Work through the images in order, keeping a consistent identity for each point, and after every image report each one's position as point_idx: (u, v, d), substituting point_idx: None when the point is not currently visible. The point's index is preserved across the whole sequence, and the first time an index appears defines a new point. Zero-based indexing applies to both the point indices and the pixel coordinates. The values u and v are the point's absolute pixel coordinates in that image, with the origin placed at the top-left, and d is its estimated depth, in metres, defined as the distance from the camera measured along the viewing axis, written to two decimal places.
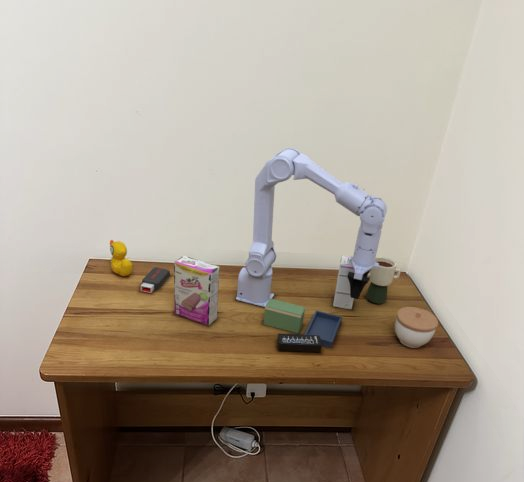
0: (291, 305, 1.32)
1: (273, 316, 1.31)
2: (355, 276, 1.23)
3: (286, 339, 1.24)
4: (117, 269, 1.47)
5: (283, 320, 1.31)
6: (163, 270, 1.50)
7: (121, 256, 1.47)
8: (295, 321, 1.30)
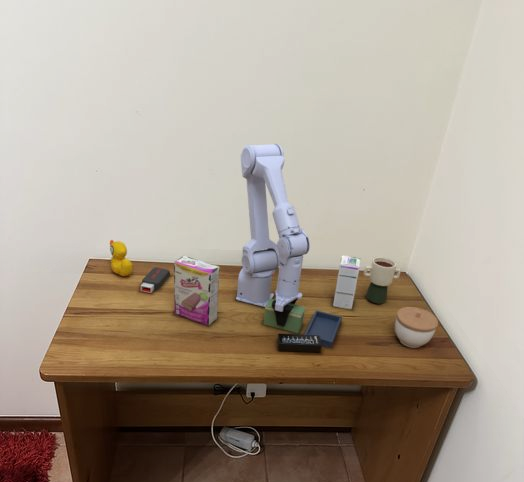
0: (291, 305, 1.32)
1: (273, 316, 1.31)
2: (276, 308, 1.24)
3: (286, 339, 1.24)
4: (117, 269, 1.47)
5: None
6: (163, 270, 1.50)
7: (121, 256, 1.47)
8: (295, 321, 1.30)
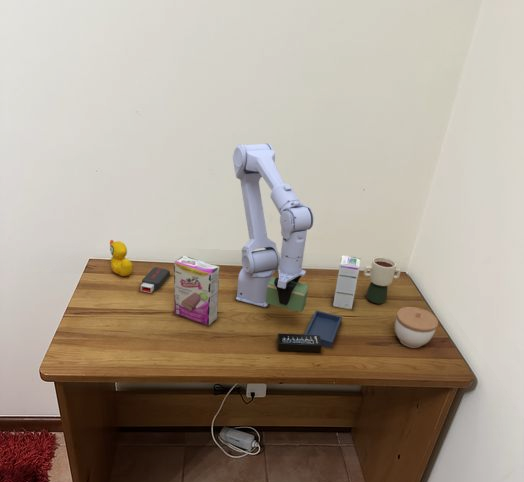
0: None
1: (276, 294, 1.28)
2: (278, 285, 1.20)
3: (286, 339, 1.24)
4: (117, 269, 1.47)
5: None
6: (163, 270, 1.50)
7: (121, 256, 1.47)
8: (298, 299, 1.26)
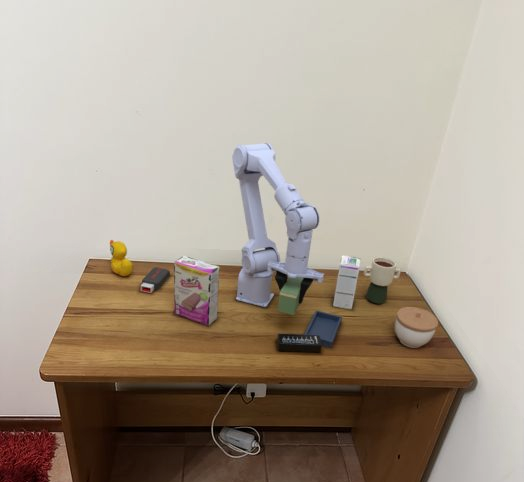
0: (296, 288, 1.26)
1: None
2: None
3: (286, 339, 1.24)
4: (117, 269, 1.47)
5: None
6: (163, 270, 1.50)
7: (121, 256, 1.47)
8: None
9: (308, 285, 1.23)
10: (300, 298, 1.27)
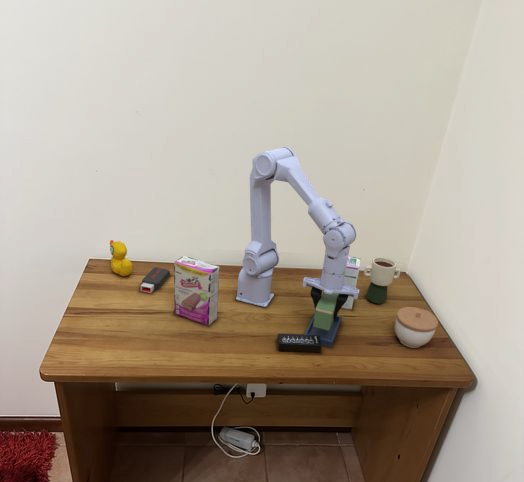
0: (332, 303, 1.27)
1: None
2: None
3: (286, 339, 1.24)
4: (117, 269, 1.47)
5: None
6: (163, 270, 1.50)
7: (121, 256, 1.47)
8: None
9: (344, 301, 1.24)
10: (335, 313, 1.28)
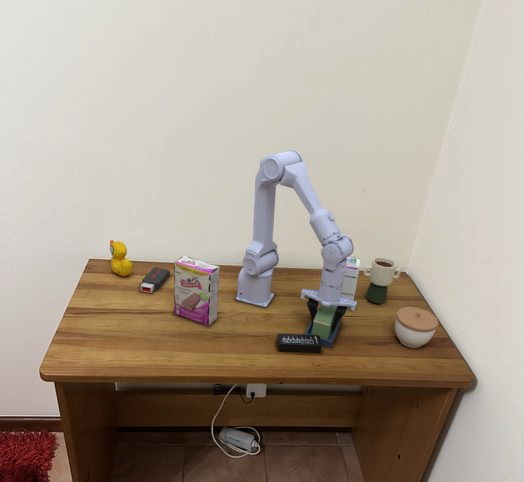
0: (329, 315, 1.29)
1: None
2: None
3: (286, 339, 1.24)
4: (117, 269, 1.47)
5: None
6: (163, 270, 1.50)
7: (121, 256, 1.47)
8: None
9: (343, 313, 1.26)
10: (334, 325, 1.30)
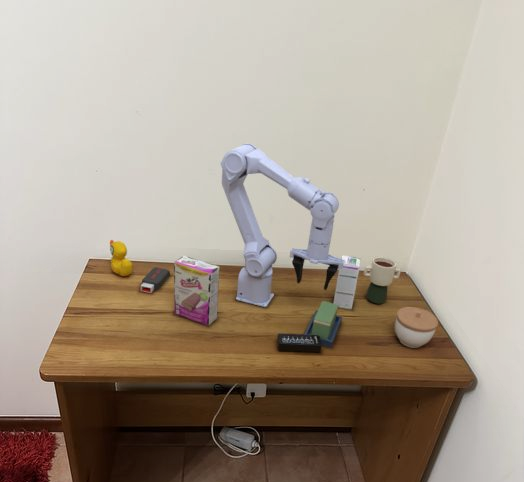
0: (329, 315, 1.29)
1: None
2: None
3: (286, 339, 1.24)
4: (117, 269, 1.47)
5: None
6: (163, 270, 1.50)
7: (121, 256, 1.47)
8: None
9: (334, 272, 1.29)
10: (325, 284, 1.33)
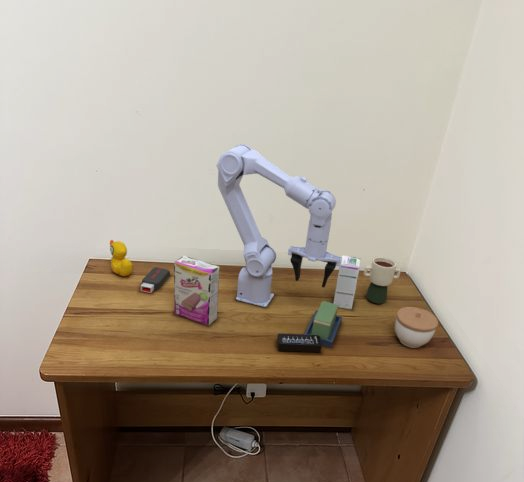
0: (329, 315, 1.29)
1: None
2: None
3: (286, 339, 1.24)
4: (117, 269, 1.47)
5: None
6: (163, 270, 1.50)
7: (121, 256, 1.47)
8: None
9: (332, 269, 1.30)
10: (324, 282, 1.34)
